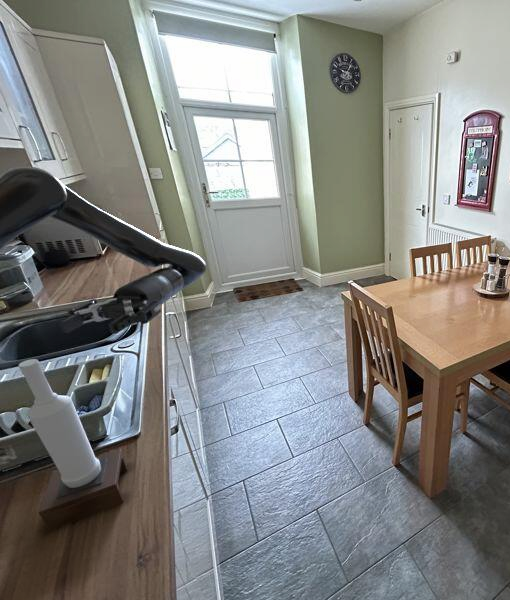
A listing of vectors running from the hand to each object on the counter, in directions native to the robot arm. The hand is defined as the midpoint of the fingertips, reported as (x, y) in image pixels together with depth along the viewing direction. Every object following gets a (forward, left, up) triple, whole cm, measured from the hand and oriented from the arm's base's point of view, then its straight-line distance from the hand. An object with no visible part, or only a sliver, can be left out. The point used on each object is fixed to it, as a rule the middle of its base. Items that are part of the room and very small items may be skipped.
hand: (87, 328), depth 60 cm
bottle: (0, -11, -25) cm, 27 cm away
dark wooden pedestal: (0, -11, -30) cm, 32 cm away
